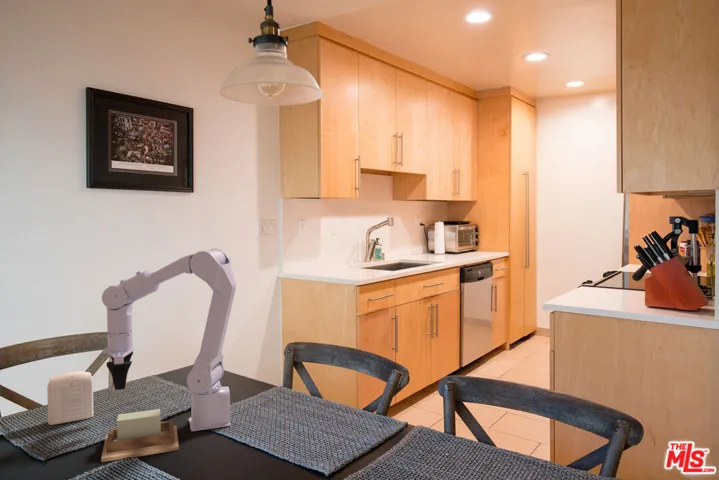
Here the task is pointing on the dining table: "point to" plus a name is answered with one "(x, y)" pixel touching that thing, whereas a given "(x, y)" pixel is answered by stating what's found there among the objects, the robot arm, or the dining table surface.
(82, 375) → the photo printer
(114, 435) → the slot board
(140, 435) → the beige block
